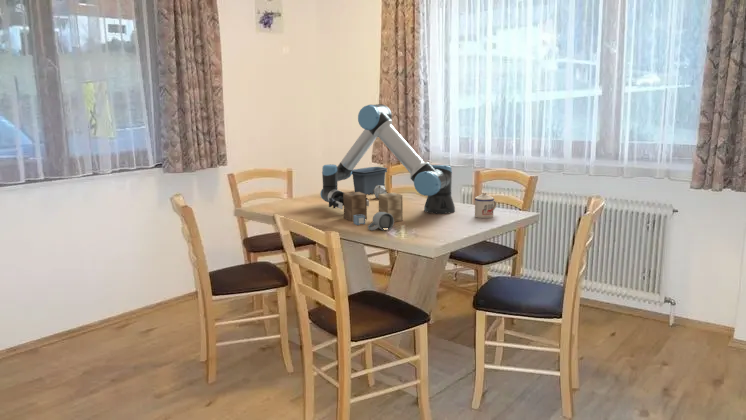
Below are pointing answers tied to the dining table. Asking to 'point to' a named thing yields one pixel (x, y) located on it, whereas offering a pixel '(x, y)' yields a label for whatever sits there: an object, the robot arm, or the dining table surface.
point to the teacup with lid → (484, 206)
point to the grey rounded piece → (379, 190)
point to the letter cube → (359, 219)
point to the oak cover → (391, 205)
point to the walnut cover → (354, 205)
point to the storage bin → (368, 179)
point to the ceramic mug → (381, 221)
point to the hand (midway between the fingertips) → (355, 204)
